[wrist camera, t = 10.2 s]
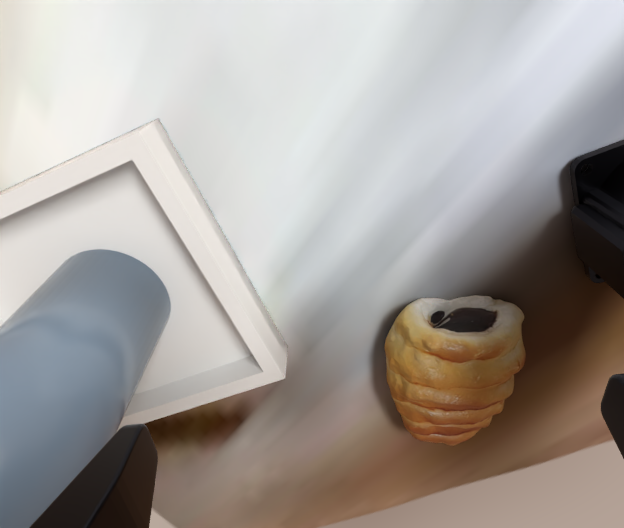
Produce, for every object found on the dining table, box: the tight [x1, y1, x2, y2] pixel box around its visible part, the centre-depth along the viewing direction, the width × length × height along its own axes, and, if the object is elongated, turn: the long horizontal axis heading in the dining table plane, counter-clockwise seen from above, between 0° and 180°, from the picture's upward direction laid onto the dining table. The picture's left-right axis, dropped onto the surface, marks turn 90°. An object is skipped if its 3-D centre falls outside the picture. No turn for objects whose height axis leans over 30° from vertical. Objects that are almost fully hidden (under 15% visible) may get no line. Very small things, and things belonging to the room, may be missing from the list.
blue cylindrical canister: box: [0, 249, 171, 528], centre depth 16 cm, size 6×6×14 cm
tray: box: [0, 119, 288, 431], centre depth 22 cm, size 13×13×2 cm
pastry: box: [385, 295, 526, 446], centre depth 24 cm, size 9×7×4 cm
